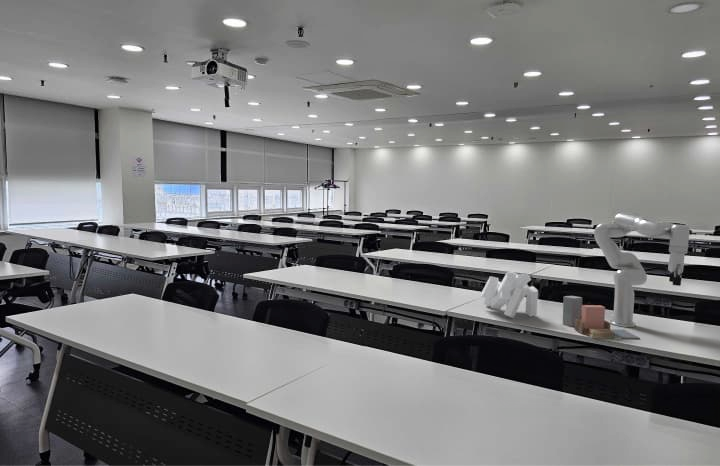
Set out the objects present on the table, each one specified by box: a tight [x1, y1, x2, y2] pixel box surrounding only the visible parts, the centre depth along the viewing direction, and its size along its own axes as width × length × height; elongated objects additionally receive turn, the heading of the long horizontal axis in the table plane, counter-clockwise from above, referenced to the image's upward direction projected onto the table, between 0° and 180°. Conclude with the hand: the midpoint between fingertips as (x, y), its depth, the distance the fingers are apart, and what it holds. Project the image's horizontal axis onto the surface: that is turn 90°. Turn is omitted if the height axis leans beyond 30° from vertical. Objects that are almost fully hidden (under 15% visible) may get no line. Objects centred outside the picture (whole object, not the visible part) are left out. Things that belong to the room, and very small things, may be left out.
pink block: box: [581, 304, 606, 329], centre depth 235 cm, size 4×10×14 cm, turn 91°
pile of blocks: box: [481, 271, 539, 319], centre depth 269 cm, size 35×30×35 cm
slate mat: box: [610, 328, 641, 340], centre depth 232 cm, size 14×9×1 cm, turn 1°
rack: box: [574, 319, 612, 335], centre depth 236 cm, size 7×15×6 cm, turn 91°
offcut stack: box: [587, 329, 614, 339], centre depth 228 cm, size 4×11×4 cm, turn 91°
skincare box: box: [562, 295, 583, 327], centre depth 249 cm, size 8×7×16 cm
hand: (674, 283), depth 223 cm, fingers open, 9 cm apart
